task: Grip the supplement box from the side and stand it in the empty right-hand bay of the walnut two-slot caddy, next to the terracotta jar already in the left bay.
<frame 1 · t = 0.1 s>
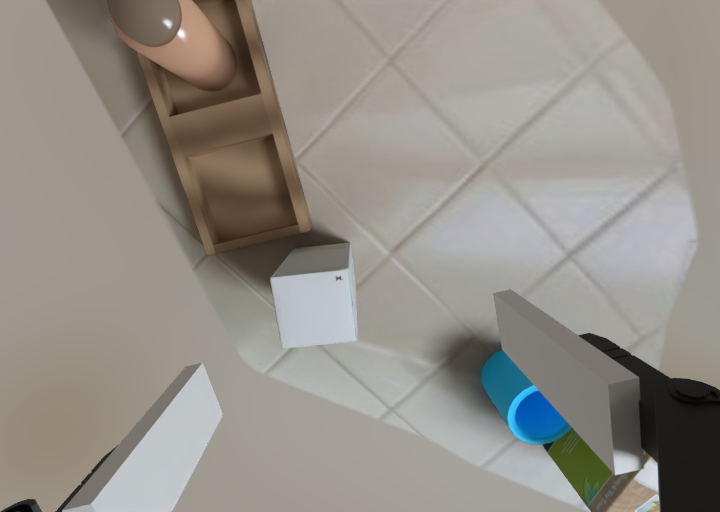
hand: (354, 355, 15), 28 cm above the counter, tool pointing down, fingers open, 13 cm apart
supplement box: (325, 272, 43), on the counter
tea box: (585, 416, 49), on the counter
mug: (522, 368, 47), on the counter
walnut two-slot caddy: (232, 130, 39), on the counter
terracotta jar: (209, 61, 36), point 1 cm above the counter, touching walnut two-slot caddy
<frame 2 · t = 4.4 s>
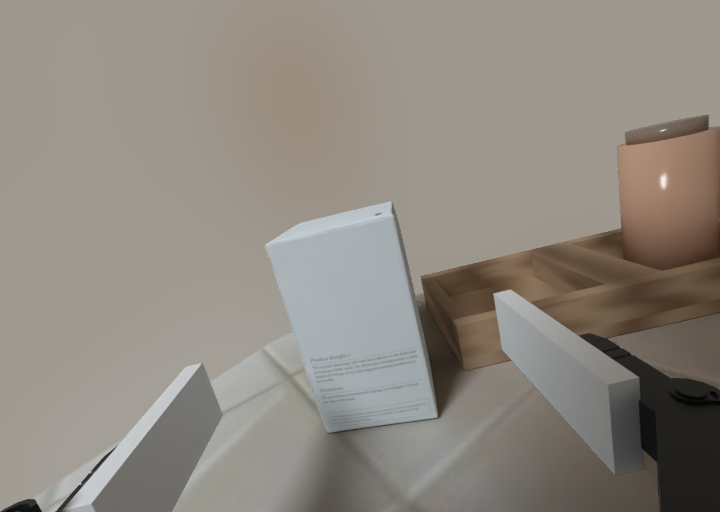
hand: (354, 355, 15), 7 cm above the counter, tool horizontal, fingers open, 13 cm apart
supplement box: (382, 392, 24), on the counter
walnut two-slot caddy: (588, 298, 29), on the counter
terracotta jar: (668, 269, 29), point 1 cm above the counter, touching walnut two-slot caddy
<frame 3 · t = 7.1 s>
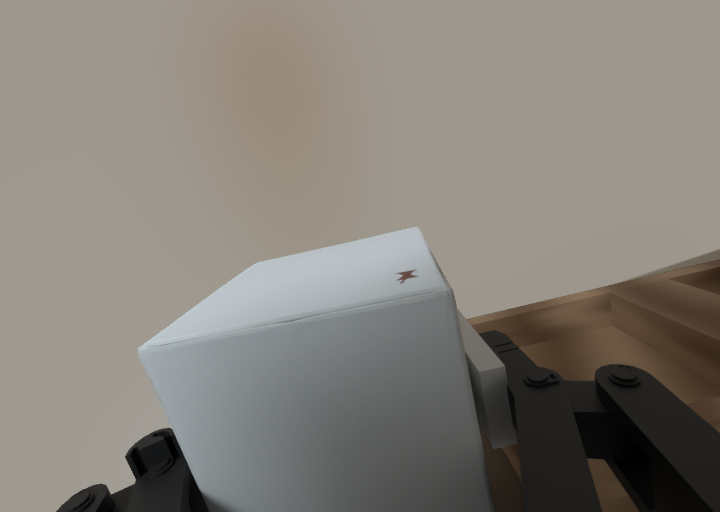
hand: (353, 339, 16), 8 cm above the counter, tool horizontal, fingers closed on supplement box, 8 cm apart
walnut two-slot caddy: (717, 371, 19), on the counter
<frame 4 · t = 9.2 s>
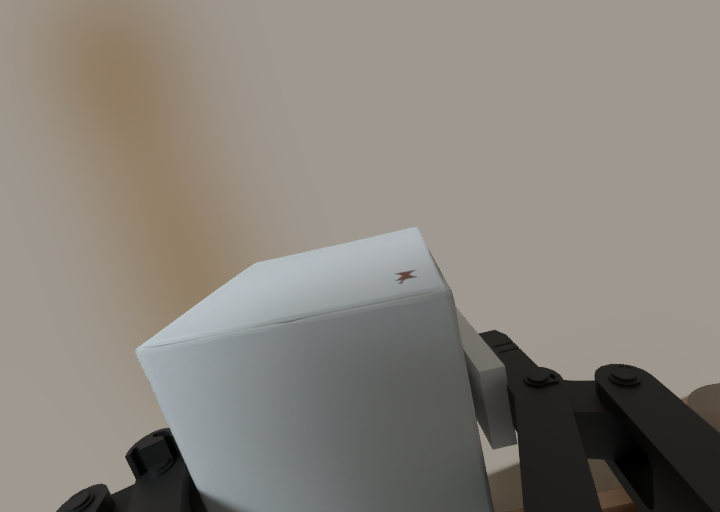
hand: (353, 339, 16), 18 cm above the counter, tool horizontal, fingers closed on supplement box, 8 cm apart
when the fingers open (10 cm above the counter, at t = 11.5 s): supplement box drops 1 cm, resting on walnut two-slot caddy.
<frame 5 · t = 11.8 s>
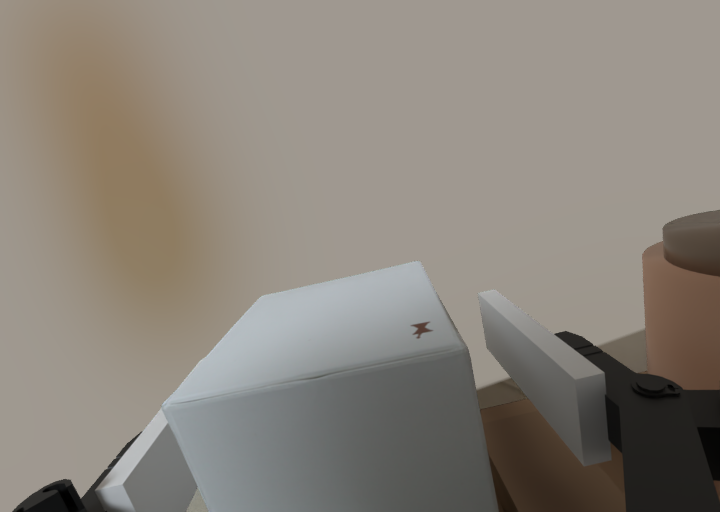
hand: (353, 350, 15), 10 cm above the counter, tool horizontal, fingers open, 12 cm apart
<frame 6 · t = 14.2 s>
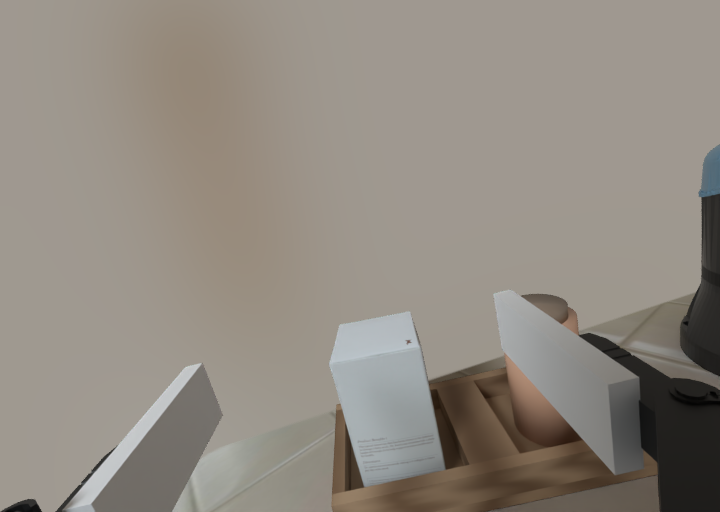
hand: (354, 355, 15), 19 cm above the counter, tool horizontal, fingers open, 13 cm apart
supplement box: (402, 455, 32), point 1 cm above the counter, touching walnut two-slot caddy
walnut two-slot caddy: (477, 447, 32), on the counter
terracotta jar: (548, 422, 32), point 1 cm above the counter, touching walnut two-slot caddy
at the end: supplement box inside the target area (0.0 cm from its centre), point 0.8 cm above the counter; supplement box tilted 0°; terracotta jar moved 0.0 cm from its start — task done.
